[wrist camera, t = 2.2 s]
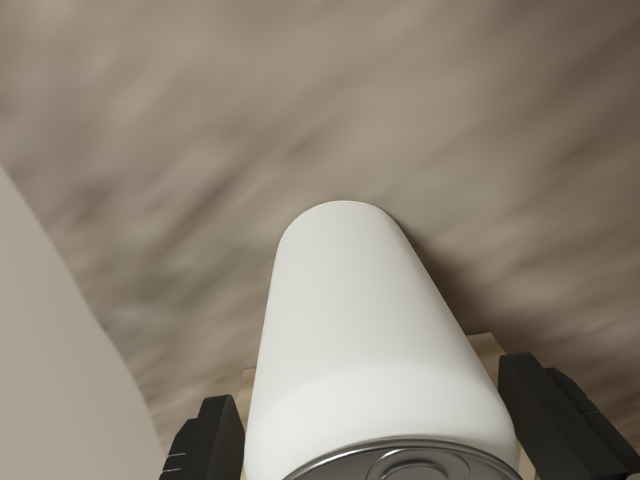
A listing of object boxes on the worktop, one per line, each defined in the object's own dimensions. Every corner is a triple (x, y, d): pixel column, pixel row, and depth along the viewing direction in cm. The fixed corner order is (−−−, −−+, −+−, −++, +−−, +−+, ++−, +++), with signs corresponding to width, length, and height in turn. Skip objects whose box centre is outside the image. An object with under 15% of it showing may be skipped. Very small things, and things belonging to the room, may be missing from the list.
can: (426, 215, 17) (630, 459, 6) (381, 323, 20) (471, 629, 9) (293, 181, 16) (267, 396, 6) (263, 299, 19) (206, 605, 8)
